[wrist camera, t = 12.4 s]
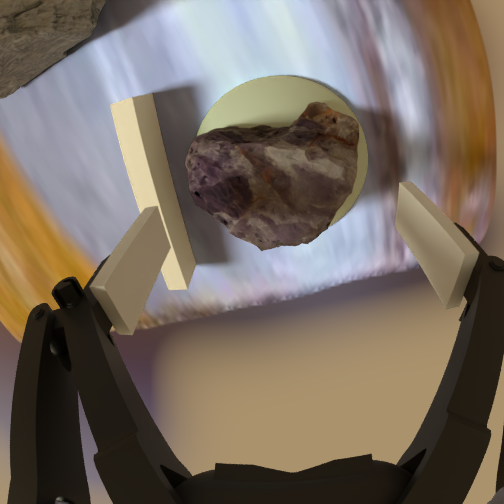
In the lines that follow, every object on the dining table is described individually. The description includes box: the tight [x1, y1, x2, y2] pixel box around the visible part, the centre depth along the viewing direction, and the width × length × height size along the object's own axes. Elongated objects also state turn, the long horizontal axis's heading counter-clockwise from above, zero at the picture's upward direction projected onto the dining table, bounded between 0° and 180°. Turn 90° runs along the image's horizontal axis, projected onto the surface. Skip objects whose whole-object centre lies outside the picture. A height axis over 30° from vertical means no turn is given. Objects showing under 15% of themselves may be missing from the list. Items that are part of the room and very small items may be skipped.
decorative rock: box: [0, 0, 106, 99], centre depth 10 cm, size 16×7×15 cm, turn 99°
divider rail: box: [110, 94, 196, 290], centre depth 24 cm, size 2×18×4 cm, turn 8°
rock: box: [185, 101, 359, 251], centre depth 20 cm, size 12×9×10 cm
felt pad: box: [197, 76, 368, 226], centre depth 23 cm, size 15×15×1 cm
